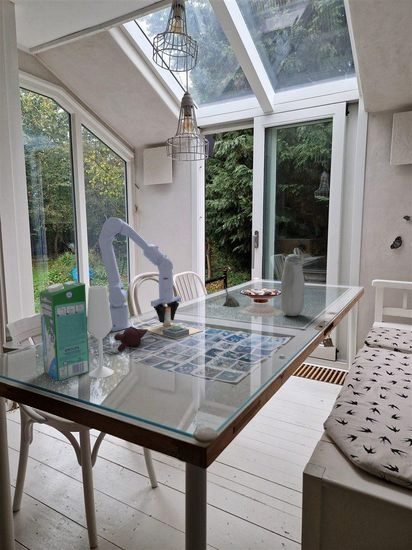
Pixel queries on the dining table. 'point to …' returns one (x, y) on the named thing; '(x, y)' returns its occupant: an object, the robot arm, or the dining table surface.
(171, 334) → the button housing
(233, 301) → the sword in stone
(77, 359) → the milk carton
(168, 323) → the marker
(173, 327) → the button
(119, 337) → the dark red figurine
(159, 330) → the beige board
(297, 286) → the grey bottle
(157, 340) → the dining table surface
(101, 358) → the champagne flute
